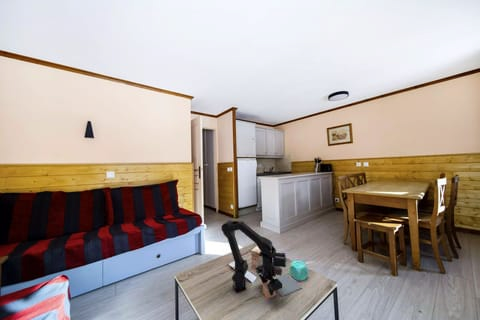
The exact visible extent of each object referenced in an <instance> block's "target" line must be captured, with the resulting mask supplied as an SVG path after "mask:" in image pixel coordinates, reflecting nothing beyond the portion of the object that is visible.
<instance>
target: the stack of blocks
mask: <svg viewBox="0 0 480 320" xmlns="http://www.w3.org/2000/svg"><path fill="white" fill-rule="evenodd" d="M250 251H251V252H250V253H251V268H253V269H255V270H256V268H257V267H258V266H261V265H263V264H262V257H261V256H258V255H259V253H260V252H261V250H260V249H259V248H258V246H257V245H256V246H255V247H254V248H252V249H251V250H250ZM271 252H272V250H271Z"/></svg>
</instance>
